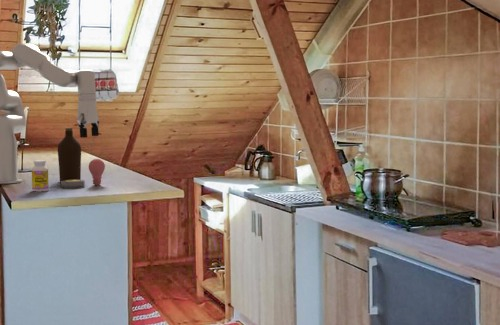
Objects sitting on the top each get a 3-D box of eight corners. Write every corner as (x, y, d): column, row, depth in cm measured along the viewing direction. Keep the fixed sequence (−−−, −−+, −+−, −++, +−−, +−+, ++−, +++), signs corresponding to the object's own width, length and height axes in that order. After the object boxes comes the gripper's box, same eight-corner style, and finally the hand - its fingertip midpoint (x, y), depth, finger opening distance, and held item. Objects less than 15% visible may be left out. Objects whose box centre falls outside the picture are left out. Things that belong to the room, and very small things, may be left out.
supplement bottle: (32, 192, 270) (31, 161, 268) (31, 190, 276) (30, 160, 274) (49, 191, 272) (48, 161, 271) (47, 189, 278) (46, 159, 277)
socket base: (56, 187, 282) (56, 181, 282) (69, 184, 292) (69, 178, 291) (77, 188, 279) (76, 182, 279) (88, 185, 289) (88, 179, 289)
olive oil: (70, 183, 295) (69, 129, 292) (53, 181, 300) (52, 128, 297) (86, 180, 305) (85, 127, 302) (69, 179, 309) (68, 127, 307)
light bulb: (98, 183, 295) (98, 157, 294) (108, 185, 291) (108, 158, 289) (85, 185, 290) (85, 158, 288) (95, 187, 285) (95, 160, 284)
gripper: (89, 98, 295) (92, 135, 296) (69, 98, 278) (71, 138, 280) (104, 97, 292) (106, 135, 294) (84, 98, 276) (86, 137, 278)
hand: (89, 136), depth 287 cm, fingers open, 9 cm apart
